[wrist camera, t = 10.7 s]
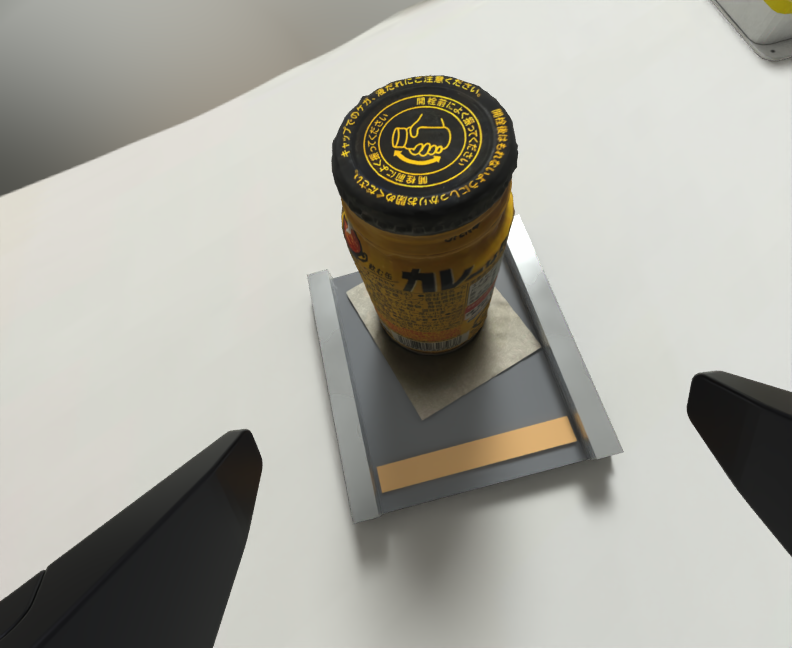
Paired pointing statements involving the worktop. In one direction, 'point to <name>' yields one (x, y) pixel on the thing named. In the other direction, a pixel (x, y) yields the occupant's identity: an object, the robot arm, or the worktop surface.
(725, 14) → the emergency button
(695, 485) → the worktop surface
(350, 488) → the guide rails
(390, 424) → the mounting plate
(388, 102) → the condiment
